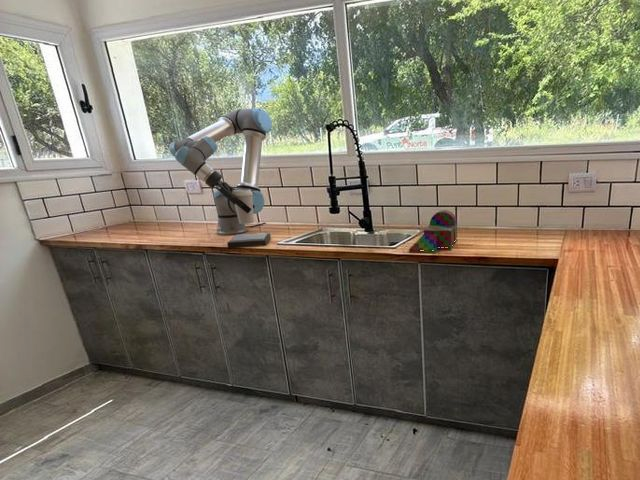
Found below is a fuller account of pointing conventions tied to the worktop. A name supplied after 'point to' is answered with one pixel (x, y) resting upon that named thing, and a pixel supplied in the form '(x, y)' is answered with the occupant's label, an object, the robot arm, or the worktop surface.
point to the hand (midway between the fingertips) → (251, 209)
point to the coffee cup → (247, 199)
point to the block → (437, 234)
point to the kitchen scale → (249, 240)
